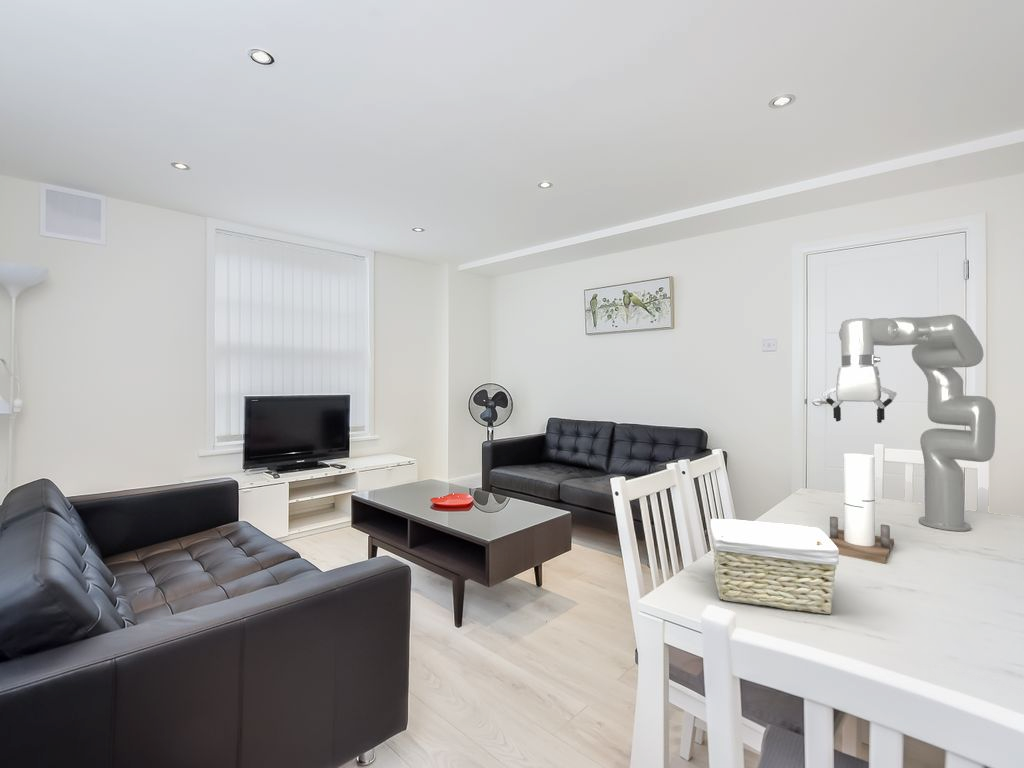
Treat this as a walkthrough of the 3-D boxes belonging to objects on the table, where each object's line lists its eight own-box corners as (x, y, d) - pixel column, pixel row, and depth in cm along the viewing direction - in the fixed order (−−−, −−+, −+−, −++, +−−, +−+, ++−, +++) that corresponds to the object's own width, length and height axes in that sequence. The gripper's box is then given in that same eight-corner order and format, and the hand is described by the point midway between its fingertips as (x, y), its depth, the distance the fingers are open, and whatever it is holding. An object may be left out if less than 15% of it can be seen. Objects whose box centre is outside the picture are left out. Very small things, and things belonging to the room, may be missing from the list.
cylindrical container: (880, 547, 132) (879, 457, 132) (851, 545, 134) (851, 456, 134) (866, 538, 139) (866, 453, 139) (839, 537, 141) (839, 453, 141)
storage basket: (819, 587, 111) (819, 524, 111) (842, 621, 96) (842, 548, 96) (709, 575, 119) (708, 516, 119) (714, 604, 104) (713, 537, 104)
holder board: (836, 533, 148) (836, 509, 148) (894, 544, 139) (893, 518, 139) (822, 551, 134) (822, 524, 134) (885, 563, 124) (885, 535, 124)
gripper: (897, 360, 133) (898, 422, 133) (824, 363, 145) (825, 419, 145) (894, 360, 127) (895, 424, 127) (819, 363, 139) (820, 421, 139)
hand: (858, 421), depth 136 cm, fingers open, 9 cm apart
